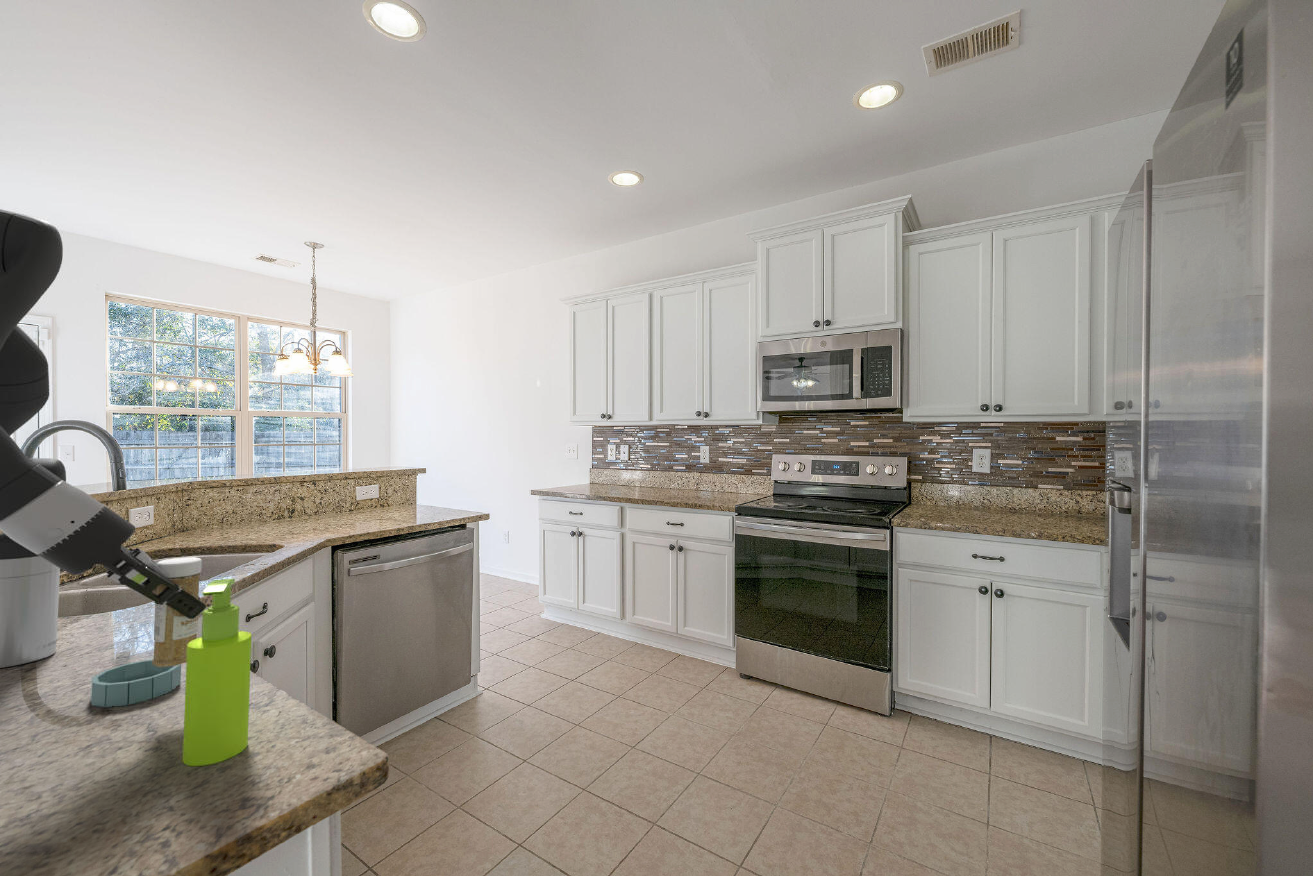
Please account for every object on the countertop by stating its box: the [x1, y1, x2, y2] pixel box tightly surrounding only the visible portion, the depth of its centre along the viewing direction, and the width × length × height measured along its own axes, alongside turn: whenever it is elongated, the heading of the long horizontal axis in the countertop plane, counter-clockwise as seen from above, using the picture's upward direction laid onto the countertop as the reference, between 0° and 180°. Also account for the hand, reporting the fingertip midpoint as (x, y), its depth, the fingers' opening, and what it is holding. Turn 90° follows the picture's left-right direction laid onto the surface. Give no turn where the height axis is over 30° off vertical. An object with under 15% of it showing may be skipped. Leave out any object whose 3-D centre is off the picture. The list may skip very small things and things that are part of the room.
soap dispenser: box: [182, 578, 252, 767], centre depth 63 cm, size 6×7×20 cm
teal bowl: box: [90, 658, 182, 708], centre depth 78 cm, size 9×9×3 cm
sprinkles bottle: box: [152, 556, 203, 667], centre depth 71 cm, size 5×5×13 cm
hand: (196, 608), depth 73 cm, fingers closed on sprinkles bottle, 4 cm apart
